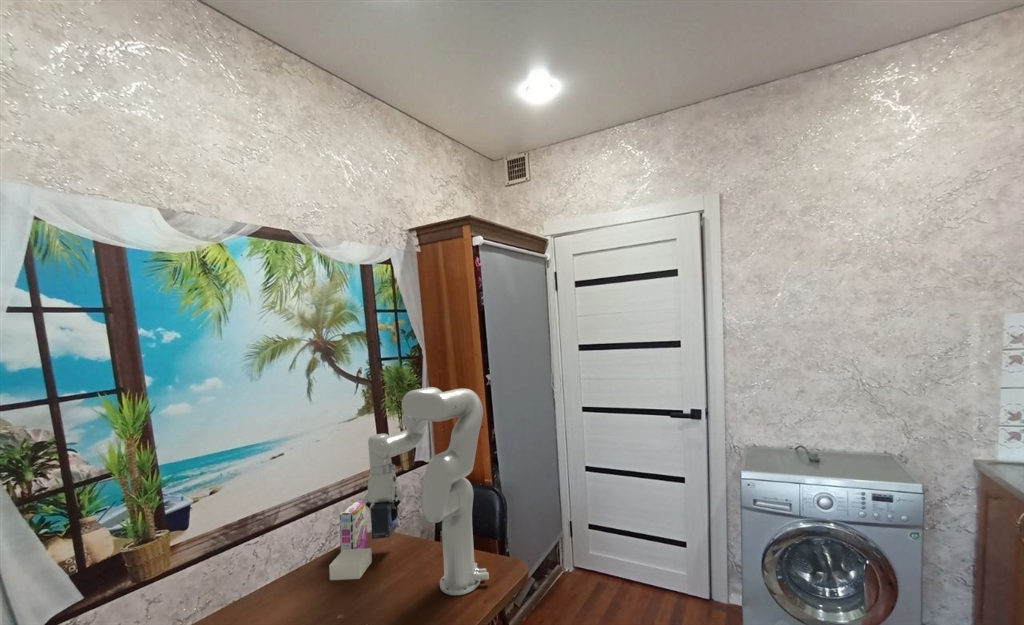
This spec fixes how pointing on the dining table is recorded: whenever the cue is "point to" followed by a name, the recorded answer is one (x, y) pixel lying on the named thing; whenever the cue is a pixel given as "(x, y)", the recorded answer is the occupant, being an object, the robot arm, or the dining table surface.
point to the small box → (382, 520)
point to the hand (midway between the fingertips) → (384, 519)
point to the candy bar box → (353, 527)
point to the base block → (350, 564)
